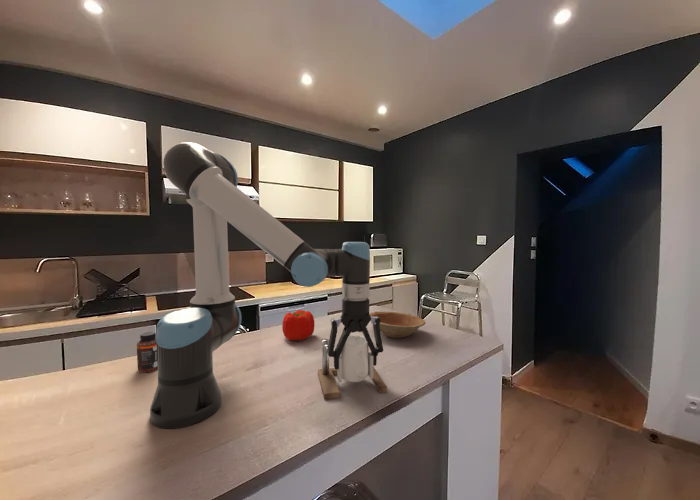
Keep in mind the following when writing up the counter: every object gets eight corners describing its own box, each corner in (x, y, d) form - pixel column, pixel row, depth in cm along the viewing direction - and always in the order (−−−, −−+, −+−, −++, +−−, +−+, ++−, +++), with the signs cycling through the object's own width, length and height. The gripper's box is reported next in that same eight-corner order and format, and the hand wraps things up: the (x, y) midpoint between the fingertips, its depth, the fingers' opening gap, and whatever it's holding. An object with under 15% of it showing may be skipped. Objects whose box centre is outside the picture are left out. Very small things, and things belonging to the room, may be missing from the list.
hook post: (324, 381, 85) (324, 346, 84) (321, 372, 90) (321, 339, 90) (331, 380, 85) (331, 345, 84) (328, 371, 91) (328, 338, 90)
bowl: (431, 346, 115) (431, 325, 115) (368, 345, 116) (368, 324, 115) (418, 326, 139) (418, 309, 138) (366, 326, 139) (366, 308, 139)
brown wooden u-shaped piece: (324, 399, 78) (324, 393, 78) (317, 374, 92) (317, 369, 92) (386, 392, 82) (386, 386, 82) (371, 369, 96) (371, 364, 96)
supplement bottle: (163, 368, 95) (161, 333, 95) (140, 375, 91) (139, 338, 90) (157, 363, 99) (156, 329, 99) (135, 369, 95) (134, 333, 94)
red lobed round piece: (298, 330, 133) (298, 306, 132) (321, 336, 125) (321, 311, 124) (274, 339, 122) (273, 313, 121) (297, 346, 114) (297, 319, 113)
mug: (380, 385, 81) (380, 348, 81) (351, 392, 78) (352, 353, 77) (360, 367, 92) (360, 333, 92) (334, 372, 89) (334, 337, 88)
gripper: (319, 302, 78) (319, 389, 79) (396, 299, 82) (395, 380, 84) (316, 296, 85) (316, 375, 86) (387, 293, 90) (386, 368, 91)
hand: (355, 378), depth 85 cm, fingers closed on mug, 8 cm apart
